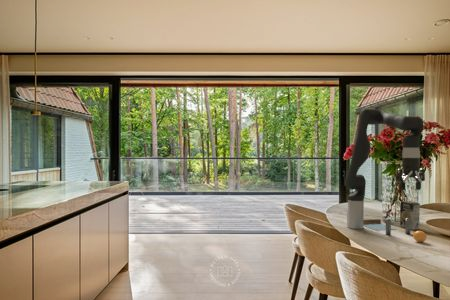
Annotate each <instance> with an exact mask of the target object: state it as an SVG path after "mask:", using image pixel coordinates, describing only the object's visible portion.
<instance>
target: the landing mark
mask: <svg viewBox="0 0 450 300" xmlns="http://www.w3.org/2000/svg"><path fill="white" fill-rule="evenodd" d="M363 227H366V228H368V229H371V230H374V231H377V232H378V231H386V224H385V225H384V224H382V223H376V224H363ZM396 230H397V228H393V227H391V231H396Z"/></svg>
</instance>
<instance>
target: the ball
mask: <svg viewBox="0 0 450 300" xmlns="http://www.w3.org/2000/svg"><path fill="white" fill-rule="evenodd" d="M412 237H413V239H414V240H415V241H416V242H417V243H424V242H426V240H427V234H426V233H425V232H424V231H423V230H416V231H414V232H413V236H412Z"/></svg>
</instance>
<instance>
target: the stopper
mask: <svg viewBox="0 0 450 300" xmlns="http://www.w3.org/2000/svg"><path fill="white" fill-rule="evenodd" d="M373 224H382V219H381V218H370V219H369V218H368V219H367V218H365V219H364V223H363V225H373Z"/></svg>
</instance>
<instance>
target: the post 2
mask: <svg viewBox="0 0 450 300" xmlns="http://www.w3.org/2000/svg"><path fill="white" fill-rule="evenodd" d="M404 230H405V231H404V232H405V234H406V235H411V232H412V231H411V230H412V229H411V219H410V218H406V224H405V228H404Z"/></svg>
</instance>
